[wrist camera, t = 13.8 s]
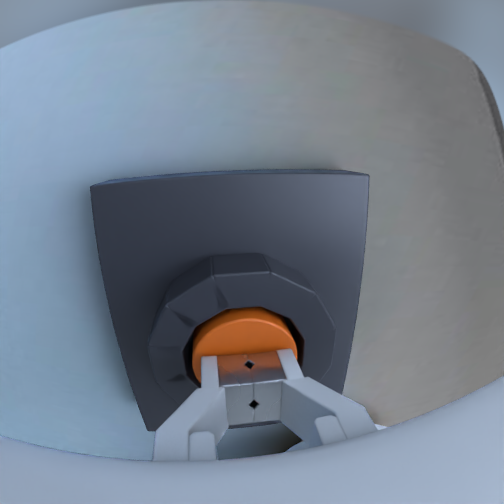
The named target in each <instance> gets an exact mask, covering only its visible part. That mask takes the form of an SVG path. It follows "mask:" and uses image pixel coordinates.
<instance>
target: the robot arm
mask: <svg viewBox="0 0 504 504" xmlns="http://www.w3.org/2000/svg"><path fill="white" fill-rule="evenodd" d="M275 420H280V421H281V422H282V423H283V424H284V425H285V426H287V427H288V428H289V429H290V430H291V431H292V432H294V433H295V434H296V435H297V436H298V437H300V438H301V439H302V440H303V441H305V442H306V443H307V444H308V445H309V448H306V449H301V450H296V451H290V452H284V453H278V454H271V455H263V456H255V457H246V458H236V459H223V460H219V459H218V454H217V448H216V447H217V445H218V444H219V442H220V441H221V439H222V437H223V436H224V434H225V432H226V431H227V429H228V427H229V426H230V425H239V424H247V423H255V422H266V421H275ZM0 504H504V375H503V376H502V377H500V378H498V379H496V380H495V381H493V382H491V383H489V384H487V385H486V386H484V387H482V388H480V389H478V390H476V391H474V392H472V393H470V394H468V395H466V396H464V397H462V398H460V399H458V400H455V401H453V402H451V403H449V404H447V405H444V406H442V407H440V408H437V409H435V410H433V411H430V412H428V413H425V414H423V415H420V416H418V417H415V418H413V419H410V420H407V421H404V422H402V423H399V424H396V425H393V426H390V427H387V428H384V429H381V430H378V429H377V427H376V426H375V424H374V422H373V421H372V419H371V417H370V416H369V414H368V412H367V411H366V409H365V407H364V406H363V405H361V404H359V403H357V402H355V401H353V400H351V399H349V398H347V397H345V396H343V395H341V394H339V393H337V392H335V391H334V390H332V389H330V388H328V387H326V386H324V385H322V384H321V383H319V382H317V381H315V380H313V379H311V378H310V377H304V376H303V373H302V371H301V369H300V367H299V364H298V362H297V360H296V358H295V355H294V353H293V351H292V349H290V348H288V349H281V350H276V351H269V352H260V353H250V354H233V355H217V356H202V357H201V388H197V389H196V390H195V391H194V392H193V393H192V394H191V395H190V396H189V397H188V398H187V399H186V400H185V401H184V402H183V403H182V404H181V406H180V407H179V408H178V409H177V410H176V411H175V412H174V413H173V414H172V415H171V416H170V417H169V418H168V419H167V420H166V421H165V422H164V423H163V424H162V425H161V426H160V427H159V428H158V429H157V430H156V432H155V441H154V450H153V459H152V461H149V460H131V459H119V458H109V457H101V456H93V455H86V454H79V453H73V452H68V451H62V450H57V449H52V448H48V447H43V446H39V445H35V444H31V443H27V442H23V441H19V440H16V439H12V438H9V437H5V436H2V435H0Z"/></svg>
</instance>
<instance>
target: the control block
mask: <svg viewBox="0 0 504 504" xmlns="http://www.w3.org/2000/svg"><path fill="white" fill-rule="evenodd" d="M90 193H91V203H92V212H93V220H94V227H95V235H96V241H97V248H98V254H99V260H100V265H101V271H102V276H103V281H104V286H105V291H106V296H107V300H108V305H109V309H110V313H111V317H112V322H113V326H114V329H115V333H116V337H117V341H118V344H119V348H120V351H121V355H122V358H123V362H124V365H125V368H126V371H127V375H128V378H129V381H130V384H131V387H132V390H133V393H134V396H135V399H136V401H137V404H138V407H139V410H140V412H141V415H142V418H143V420H144V423H145V425H146V428H147V431H156V430H157V429H158V428H159V427H160V426H161V425H162V424H163V423H164V422H165V421H166V420H167V419H168V418H169V417H170V416H171V415H172V414H173V413H174V412H175V411H176V410H177V409H178V408H179V407H180V406H181V404H182V403H183V402H184V401H185V400H186V399H187V398H188V397H189V396H190V395H191V394H192V393H193V392H194V391H195V390H196V389H197V388H201V383H200V382H199V381H198V379H197V378H196V376H195V373H194V371H193V367H192V349H193V331H194V329H195V328H196V326H198V325H200V324H201V323H203V322H205V321H206V320H208V319H210V318H212V317H213V316H215V315H217V314H218V313H220V312H222V311H223V310H225V309H234V308H247V307H259V306H261V307H263V308H266V309H268V310H270V311H273V312H275V313H278V314H280V315H282V316H283V318H284V320H285V322H286V324H287V326H288V328H289V331H290V333H291V335H292V337H293V339H294V341H295V344H296V347H297V362H298V364H299V367H300V369H301V371H302V373H303V376H304V377H310V378H311V379H313V380H315V381H317V382H319V383H321V384H322V385H324V386H326V387H328V388H330V389H332V390H334V391H335V392H337V393H339V394H341V395H342V391H343V387H344V382H345V377H346V373H347V368H348V363H349V357H350V352H351V347H352V341H353V335H354V329H355V323H356V317H357V310H358V303H359V296H360V288H361V280H362V272H363V262H364V253H365V242H366V230H367V215H368V198H369V175H368V174H364V173H358V172H352V171H346V170H309V169H275V170H233V171H211V172H193V173H178V174H165V175H154V176H143V177H133V178H123V179H115V180H108V181H105V182H101V183H98V184H95V185H92V186H90ZM276 423H282V422H281V421H280V420H275V421H266V422H255V423H247V424H239V425H230V426H229V427H228V429H233V428H244V427H253V426H262V425H269V424H276Z"/></svg>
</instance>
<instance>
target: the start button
mask: <svg viewBox="0 0 504 504" xmlns="http://www.w3.org/2000/svg"><path fill="white" fill-rule="evenodd" d="M288 348H290V349H292V351H293V353H294V355H295V358H296V360H297V347H296V344H295V341H294V339H293V337H292V335H291V333H290V331H289V328H288V326H287V324H286V322H285V320H284V318H283V316H282V315H280V314H278V313H275V312H273V311H270V310H268V309H266V308H263V307H261V306H259V307H247V308H234V309H225V310H223V311H222V312H220V313H218V314H217V315H215V316H213V317H212V318H210V319H208V320H206V321H205V322H203V323H201V324H200V325H198V326H196V328H195V329H194V331H193V349H192V367H193V371H194V373H195V376H196V378H197V379H198V381H199V382H200V383H201V357H202V356H217V355H233V354H250V353H260V352H269V351H276V350H281V349H288Z"/></svg>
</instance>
